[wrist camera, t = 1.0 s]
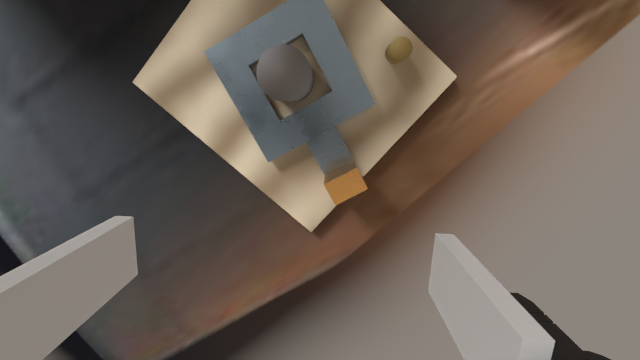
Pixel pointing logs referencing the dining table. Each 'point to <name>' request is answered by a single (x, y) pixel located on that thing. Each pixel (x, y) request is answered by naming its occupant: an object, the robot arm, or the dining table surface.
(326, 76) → the flange plate
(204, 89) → the post board
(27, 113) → the dining table surface
